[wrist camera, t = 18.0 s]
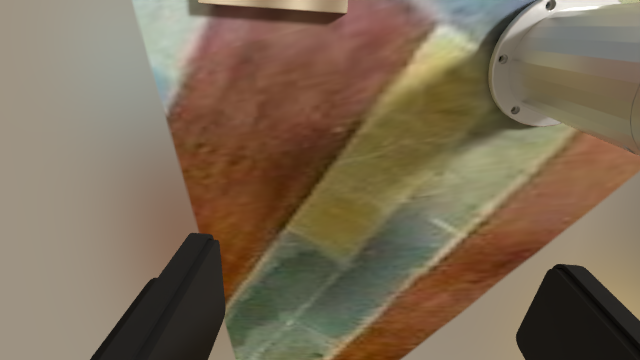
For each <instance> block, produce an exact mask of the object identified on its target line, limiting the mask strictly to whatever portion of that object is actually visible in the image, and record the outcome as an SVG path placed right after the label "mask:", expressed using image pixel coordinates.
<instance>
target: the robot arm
mask: <svg viewBox="0 0 640 360" xmlns="http://www.w3.org/2000/svg"><path fill="white" fill-rule="evenodd" d="M546 4H548V5H547V8H546ZM500 56H501V60H500V61H499V57H500ZM488 78H489V88H490V92H491V95H492V98H493V99H494V101H495V103H496V105H497V106H498V107H499V109H500V110H501V111H502V112H503V113H504V114H506V115H507V116H509V117H510V118H512V119H514V120H516V121H518V122H520V123H523V124H526V125H530V126H541V127H543V126H553V125H557V124H561V123H564V124H566V125H568V126H571V127H573V128H575V129H578V130H580V131H582V132H585V133H587V134H589V135H592V136H594V137H596V138H599V139H601V140H604V141H606V142H608V143H611V144H613V145H615V146H618V147H620V148H622V149H625V150H627V151H629V152H632V153H634V154H636V155H639V156H640V2H637V3H625V4H622V3H621V2H620V1H619V0H537V1H535V2H534V3H532V4H531V5H529V6H528V7H527V8H526V9H524V10H523V11H522V12H520V13H519V14H518V15H517V16H516V17H515V18H514V19H513V20H512V22H511V23H510V24H509V25H508V26H507V28H506V29H505V31H504V32H503V33H502V35H501V36H500V38H499V40H498V42H497V44H496V46H495V48H494V51H493V54H492V57H491V60H490V65H489V72H488ZM512 108H513V109H512ZM511 109H512V110H511ZM224 315H225V297H224V287H223V276H222V265H221V255H220V244H219V241H218V240H214V239H213V236H212V235H211V234H200V233H190V234H189V235H188V237H187V238H186V239H185V241H184V242H183V244H182V245H181V246H180V248H179V249H178V251H177V252H176V253H175V255H174V256H173V257H172V259H171V260H170V262H169V263H168V265H167V266H166V267H165V269H164V270H163V271H162V273H161V274H160V275H159V277H158V278H153V279H151V280H150V281H149V282H148V283H147V284H146V286H145V287H144V288H143V289H142V291H141V292H140V294H139V295H138V296H137V297H136V299H135V300H134V301H133V303H132V304H131V305H130V307H129V308H128V310H127V311H126V312H125V314H124V315H123V316H122V318H121V319H120V320H119V322H118V323H117V324H116V326H115V327H114V328H113V330H112V331H111V332H110V334H109V335H108V336H107V338H106V339H105V340H104V342H103V343H102V344H101V346H100V347H99V348H98V350H97V351H96V352H95V354H94V355H93V356H92V358H91V359H90V360H208V358H209V355H210V353H211V350H212V347H213V345H214V342H215V340H216V337H217V335H218V332H219V330H220V327H221V325H222V322H223V319H224ZM516 341H517V345H518V347H519V349H520V351H521V353H522V354H523V356H524V358H525V360H640V321H639V320H638V319H637V318H636V317H635V316H634V315H633V314H632V313H631V312H630V311H629V310H628V309H627V308H626V307H625V306H624V305H623V304H622V303H621V302H620V301H619V300H618V299H617V298H616V297H615V296H613V294H612V293H611V292H609V290H608V289H606V288H605V287H604V286H603V285H602V284H601V283H600V282H599V281H598V280H597V279H596V278H595V277H594V276H593V275H592V274H591V273H590V272H589V271H588V270H587V269H586V268H584V267H582V266H577V265H565V264H557V265H555V266H554V267H553V268H552V269H550V270H548V271H547V273H546V275H545V277H544V279H543V281H542V283H541V285H540V287H539V289H538V291H537V293H536V295H535V297H534V299H533V301H532V303H531V305H530V307H529V309H528V311H527V313H526V315H525V317H524V319H523V321H522V323H521V326H520V328H519V329H518V332H517V334H516Z"/></svg>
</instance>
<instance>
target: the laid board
mask: <svg viewBox="0 0 640 360" xmlns="http://www.w3.org/2000/svg"><path fill="white" fill-rule="evenodd" d="M198 3H204V4H214V5H229V6H243V7H257V8H271V9H285V10H300V11H314V12H328V13H342V14H347V6H348V0H198Z"/></svg>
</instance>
